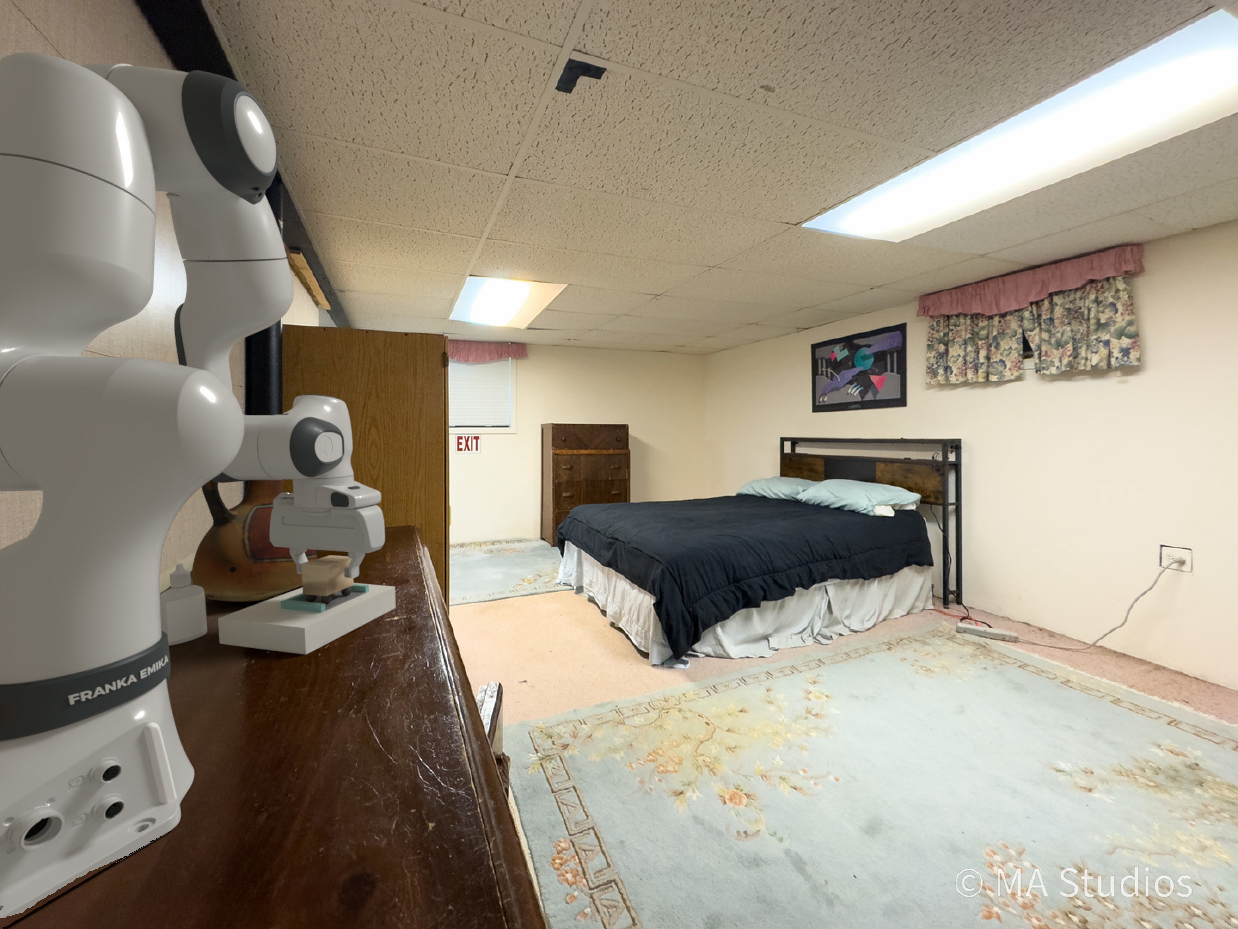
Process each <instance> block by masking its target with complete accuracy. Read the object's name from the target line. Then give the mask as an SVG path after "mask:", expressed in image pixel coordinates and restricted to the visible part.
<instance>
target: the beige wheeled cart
mask: <svg viewBox="0 0 1238 929" xmlns="http://www.w3.org/2000/svg"><path fill="white" fill-rule="evenodd" d="M351 559H352V558H349V556H348V555H347V556H346V555H344V556H343V555H333V554H332V555H331V554H329V555H327V556H323V557H320V558H317V560H313V561H310V562H307V563H304V564H302V587H303V594H307V595H306V598H305V599H306V601H307V602H314V601H315V600H316V598H317V596H316V595H318V596H322V597H321V602H322V603H324V604H328V603H330V602H331V600H332V597H331V594H334V593H336V592H338V591H341V593H342V594H343V595H345V596H347V595H349V594H350V593H351V591H352V589H351V588H350V586H353V585H354V583H355V582H354V578H345V577H344V574H345V573H344V568H345V567H348V566H349V564H350V561H351Z"/></svg>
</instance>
